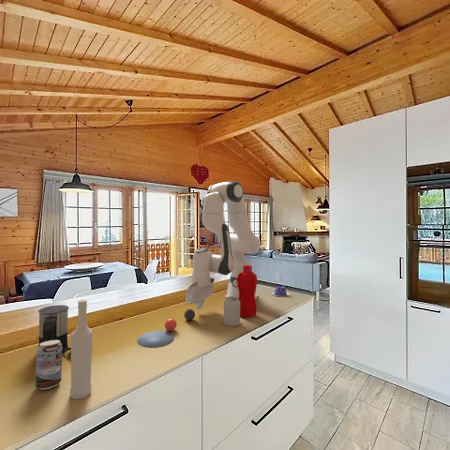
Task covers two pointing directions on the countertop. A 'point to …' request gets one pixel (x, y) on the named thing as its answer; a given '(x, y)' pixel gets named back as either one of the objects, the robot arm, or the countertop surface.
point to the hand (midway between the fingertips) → (199, 308)
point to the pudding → (280, 291)
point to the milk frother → (54, 325)
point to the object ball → (170, 324)
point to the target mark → (155, 339)
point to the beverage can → (48, 364)
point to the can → (231, 311)
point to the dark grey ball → (189, 314)
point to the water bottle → (247, 292)
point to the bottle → (81, 355)
